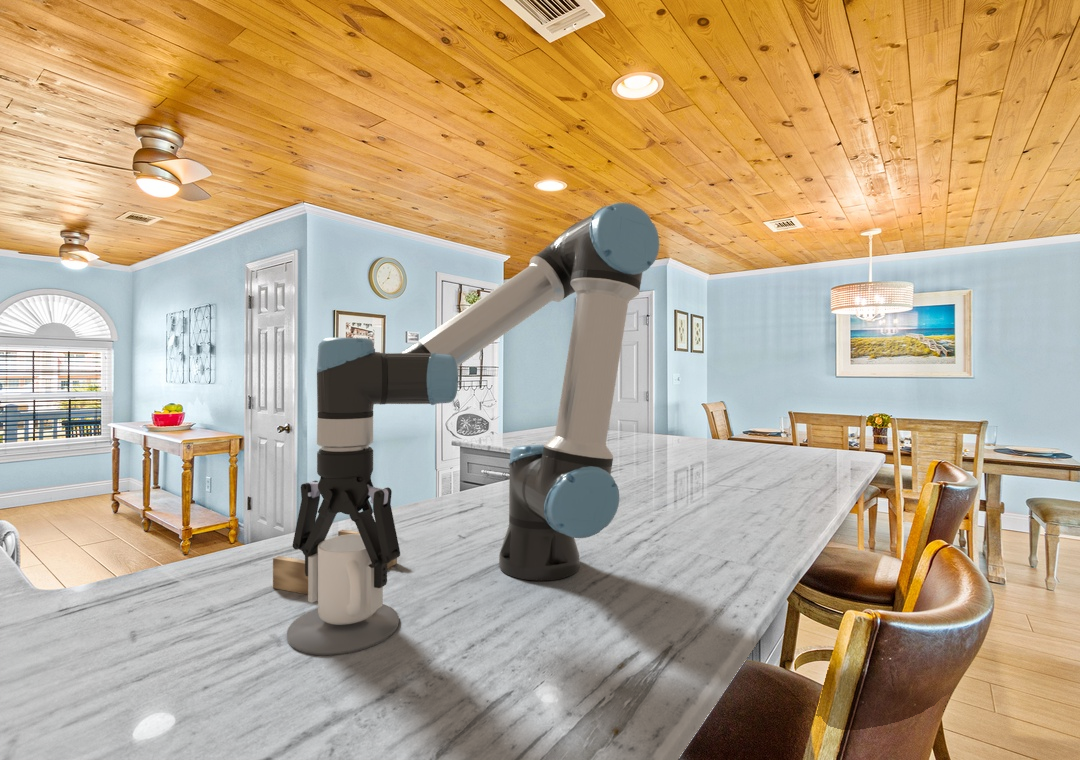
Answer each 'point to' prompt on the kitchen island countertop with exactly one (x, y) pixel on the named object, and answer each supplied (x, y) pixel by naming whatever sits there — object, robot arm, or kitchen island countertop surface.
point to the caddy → (298, 571)
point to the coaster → (341, 633)
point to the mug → (342, 580)
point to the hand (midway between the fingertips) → (345, 603)
